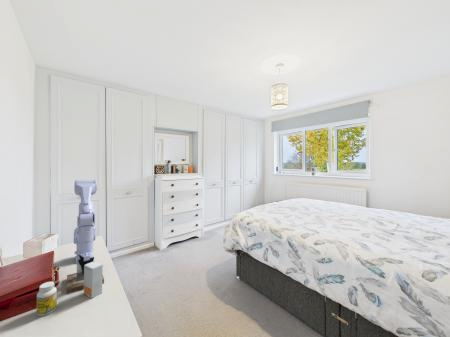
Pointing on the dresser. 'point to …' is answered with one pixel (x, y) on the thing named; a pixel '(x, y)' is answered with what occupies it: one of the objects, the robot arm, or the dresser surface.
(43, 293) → the supplement bottle
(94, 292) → the skincare box
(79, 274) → the housing
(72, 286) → the walnut stand
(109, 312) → the dresser surface
